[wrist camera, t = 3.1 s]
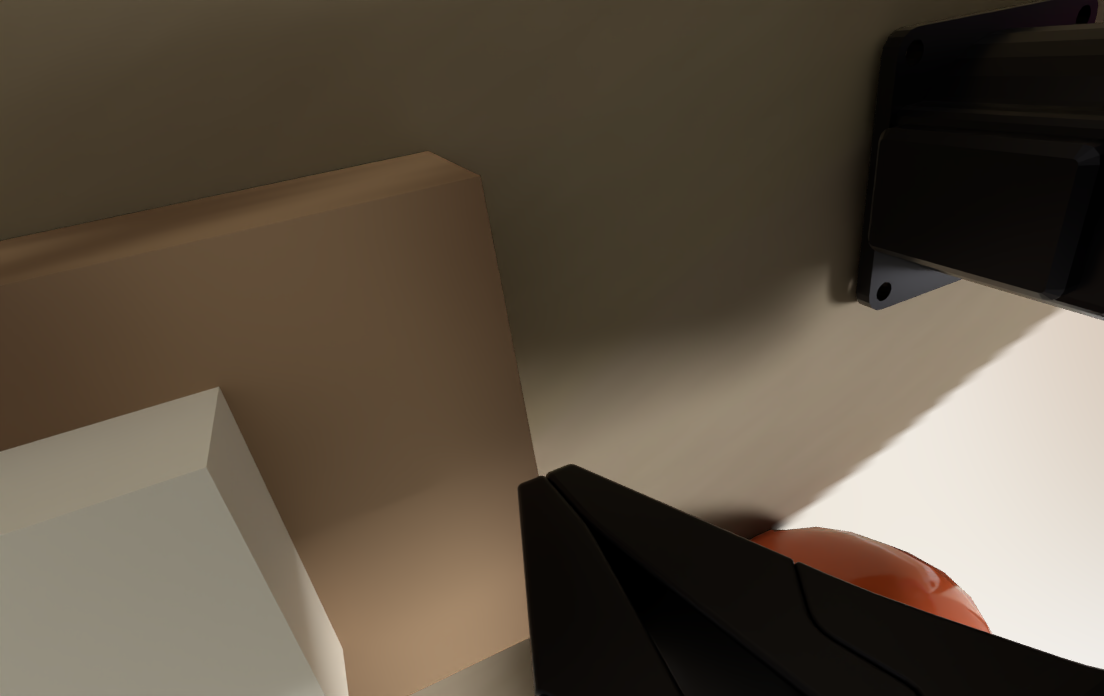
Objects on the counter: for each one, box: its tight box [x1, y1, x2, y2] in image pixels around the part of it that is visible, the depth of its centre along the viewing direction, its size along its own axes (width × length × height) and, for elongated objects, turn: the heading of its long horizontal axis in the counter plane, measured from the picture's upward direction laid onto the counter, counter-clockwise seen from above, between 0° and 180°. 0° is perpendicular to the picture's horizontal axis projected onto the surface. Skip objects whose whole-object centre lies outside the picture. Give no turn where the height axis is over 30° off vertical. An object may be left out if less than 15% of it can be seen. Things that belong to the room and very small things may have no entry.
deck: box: [0, 151, 538, 696], centre depth 9 cm, size 11×8×3 cm
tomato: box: [750, 527, 992, 634], centre depth 16 cm, size 7×7×8 cm
